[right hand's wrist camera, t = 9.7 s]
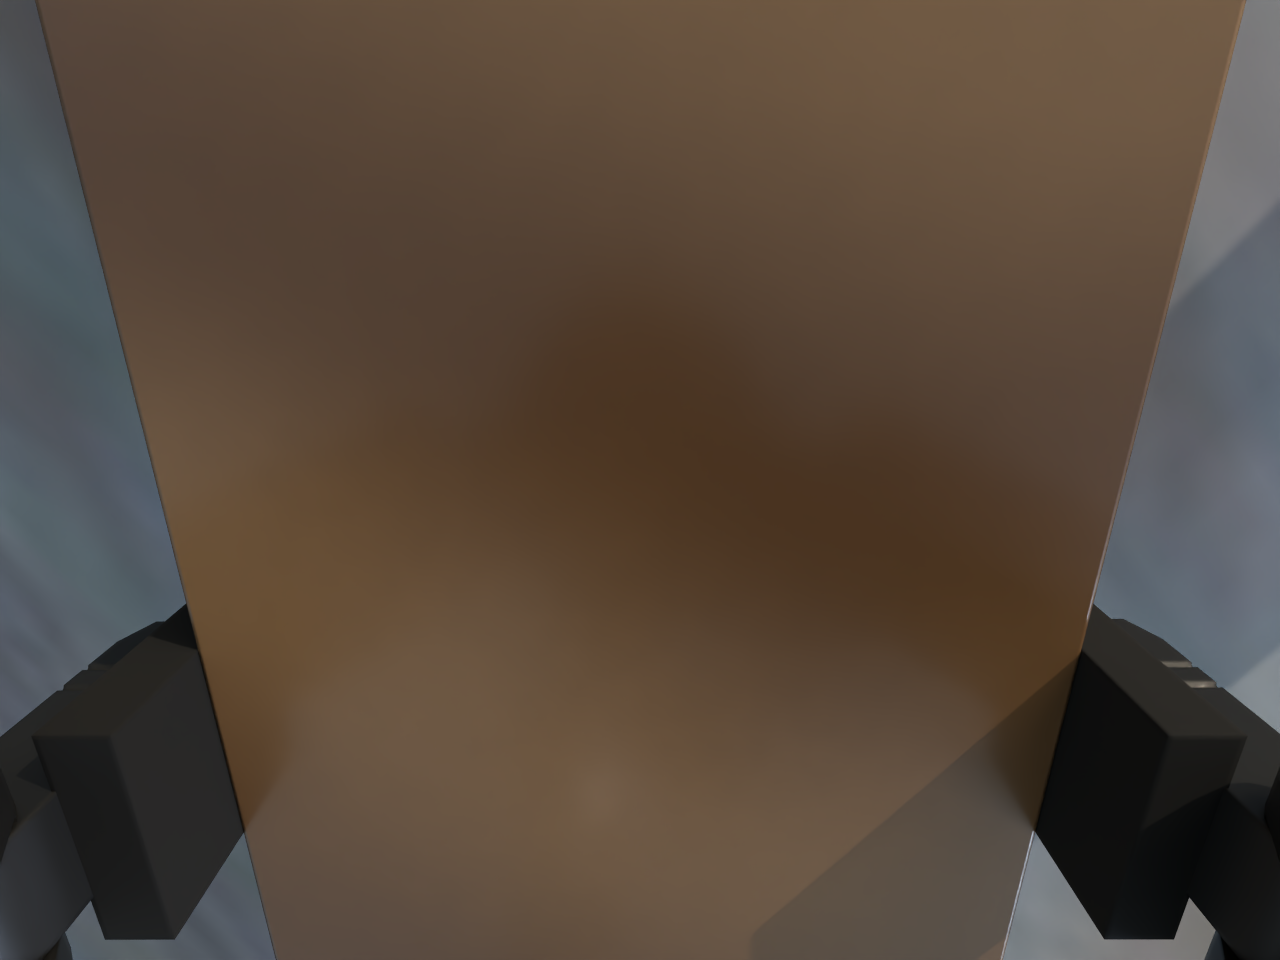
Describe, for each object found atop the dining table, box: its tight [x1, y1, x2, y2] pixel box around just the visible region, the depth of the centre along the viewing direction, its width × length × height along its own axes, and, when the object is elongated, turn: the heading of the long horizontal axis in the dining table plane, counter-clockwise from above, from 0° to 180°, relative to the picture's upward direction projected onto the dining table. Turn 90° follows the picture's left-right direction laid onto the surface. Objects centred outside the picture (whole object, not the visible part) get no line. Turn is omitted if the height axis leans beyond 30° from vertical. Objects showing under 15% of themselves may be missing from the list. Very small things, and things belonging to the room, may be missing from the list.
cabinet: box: [35, 0, 1246, 960], centre depth 11 cm, size 19×10×9 cm, turn 0°
